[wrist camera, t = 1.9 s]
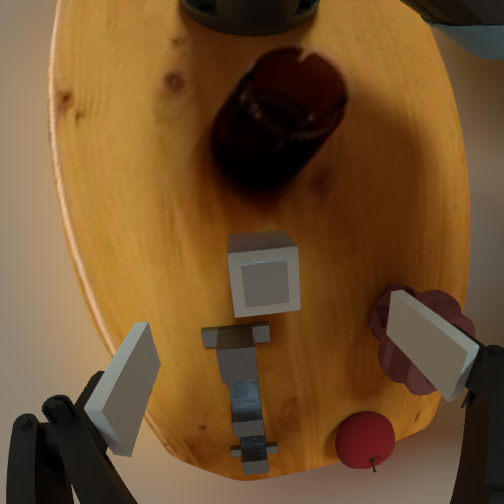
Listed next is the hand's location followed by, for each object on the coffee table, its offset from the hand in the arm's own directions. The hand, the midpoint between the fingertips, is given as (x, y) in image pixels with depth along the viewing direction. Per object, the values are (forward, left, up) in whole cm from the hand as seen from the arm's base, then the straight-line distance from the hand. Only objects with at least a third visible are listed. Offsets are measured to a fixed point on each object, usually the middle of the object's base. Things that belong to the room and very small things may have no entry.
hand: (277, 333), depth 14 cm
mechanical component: (+8, +15, -14) cm, 22 cm away
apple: (+28, +13, -14) cm, 34 cm away
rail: (+19, -3, -14) cm, 23 cm away
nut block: (0, 0, -14) cm, 14 cm away
